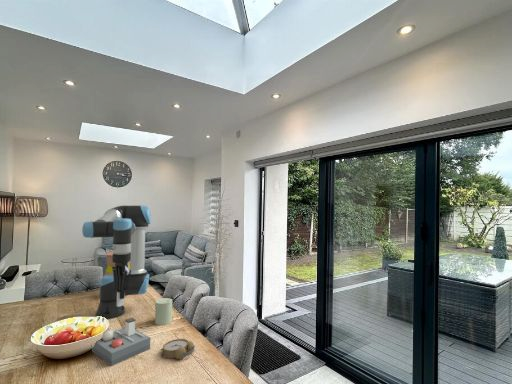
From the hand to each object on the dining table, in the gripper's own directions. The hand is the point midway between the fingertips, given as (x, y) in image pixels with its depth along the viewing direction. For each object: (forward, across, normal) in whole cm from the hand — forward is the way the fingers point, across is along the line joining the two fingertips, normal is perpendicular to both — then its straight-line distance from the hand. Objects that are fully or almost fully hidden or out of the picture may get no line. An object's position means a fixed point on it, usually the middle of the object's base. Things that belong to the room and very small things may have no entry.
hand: (120, 305), depth 123 cm
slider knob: (+15, 0, +5) cm, 15 cm away
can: (+21, -11, +30) cm, 38 cm away
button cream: (+16, -4, -3) cm, 16 cm away
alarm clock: (+20, +23, +15) cm, 34 cm away
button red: (+17, +4, -3) cm, 18 cm away
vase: (+22, -77, +38) cm, 89 cm away
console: (+20, 0, +1) cm, 20 cm away
